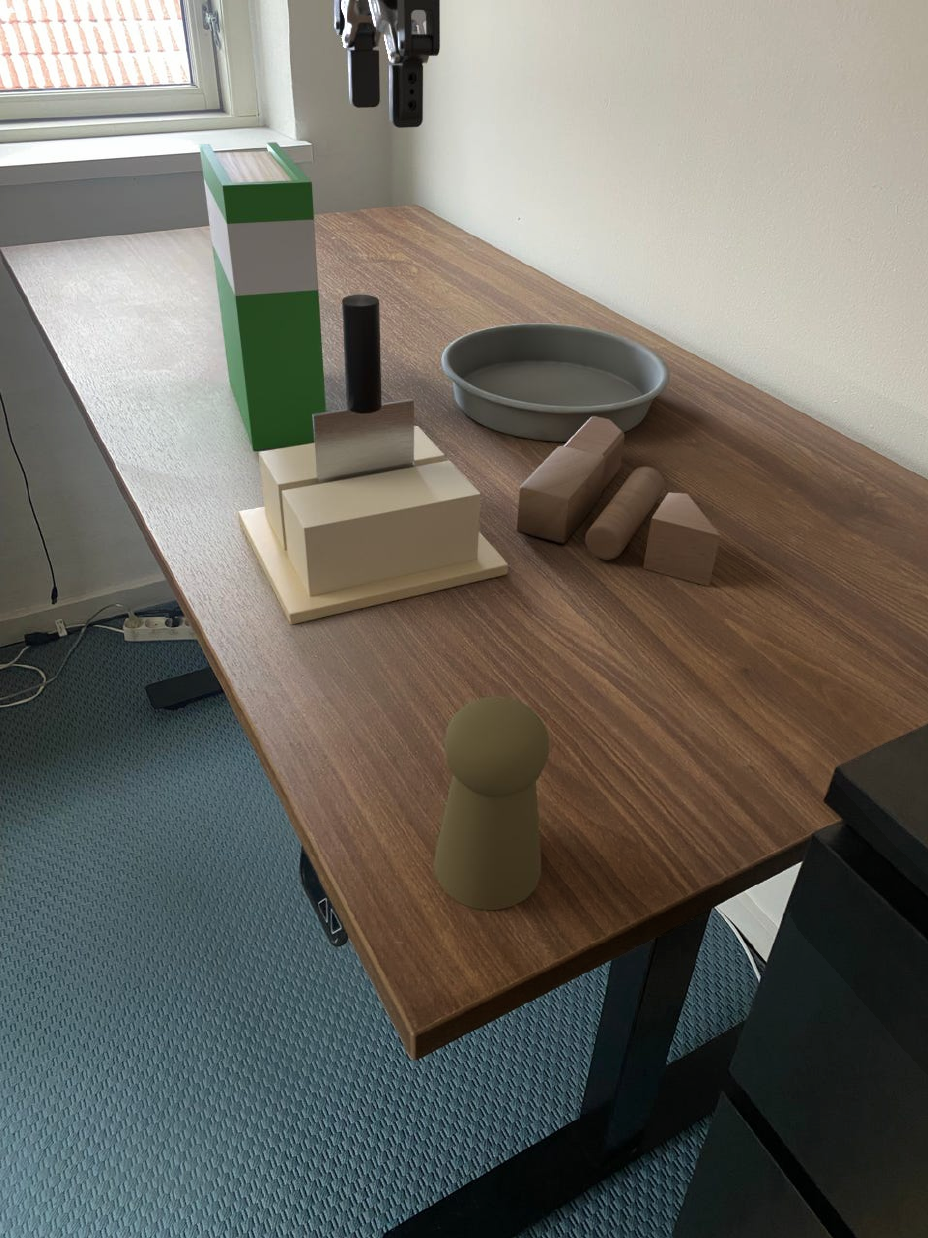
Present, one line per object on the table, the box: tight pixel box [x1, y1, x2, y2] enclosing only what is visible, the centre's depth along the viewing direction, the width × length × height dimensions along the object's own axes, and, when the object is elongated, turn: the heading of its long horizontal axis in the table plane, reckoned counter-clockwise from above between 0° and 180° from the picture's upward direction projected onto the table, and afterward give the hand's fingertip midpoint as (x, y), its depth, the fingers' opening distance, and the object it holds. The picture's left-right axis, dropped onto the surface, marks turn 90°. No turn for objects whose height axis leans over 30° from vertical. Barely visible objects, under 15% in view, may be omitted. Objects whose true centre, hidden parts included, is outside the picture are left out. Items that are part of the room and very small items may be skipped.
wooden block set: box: [516, 416, 721, 587], centre depth 81 cm, size 17×6×18 cm
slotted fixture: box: [237, 425, 509, 625], centre depth 75 cm, size 18×16×7 cm
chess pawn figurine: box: [433, 696, 550, 911], centre depth 48 cm, size 6×6×11 cm
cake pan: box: [440, 322, 671, 443], centre depth 101 cm, size 25×25×4 cm
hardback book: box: [199, 141, 327, 451], centre depth 91 cm, size 18×7×24 cm, turn 19°
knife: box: [313, 293, 415, 484], centre depth 69 cm, size 8×3×14 cm, turn 115°
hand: (384, 116), depth 67 cm, fingers open, 8 cm apart
